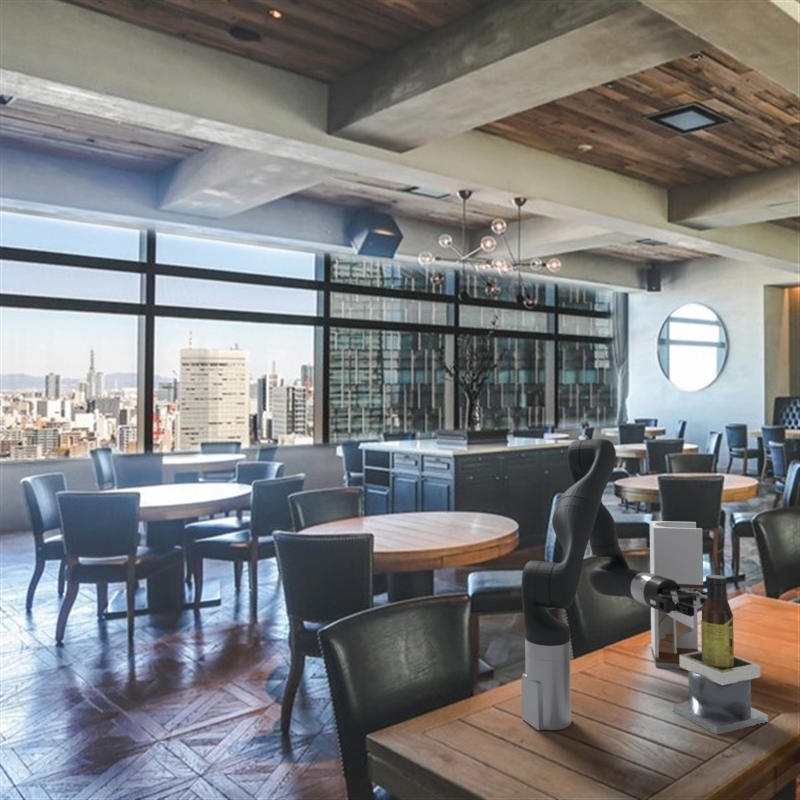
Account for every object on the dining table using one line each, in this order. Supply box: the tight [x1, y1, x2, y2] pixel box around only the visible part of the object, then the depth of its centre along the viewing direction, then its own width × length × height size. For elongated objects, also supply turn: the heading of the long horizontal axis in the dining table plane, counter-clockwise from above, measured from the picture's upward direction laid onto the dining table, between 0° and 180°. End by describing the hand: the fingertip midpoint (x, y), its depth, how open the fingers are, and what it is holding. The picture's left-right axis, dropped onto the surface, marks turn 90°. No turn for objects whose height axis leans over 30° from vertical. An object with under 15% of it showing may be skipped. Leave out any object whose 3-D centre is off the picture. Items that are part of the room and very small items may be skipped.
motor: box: [672, 650, 769, 736], centre depth 153 cm, size 14×12×12 cm
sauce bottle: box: [700, 574, 735, 670], centre depth 153 cm, size 6×6×20 cm
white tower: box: [649, 520, 704, 670], centre depth 186 cm, size 11×11×35 cm
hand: (708, 609), depth 156 cm, fingers open, 8 cm apart
